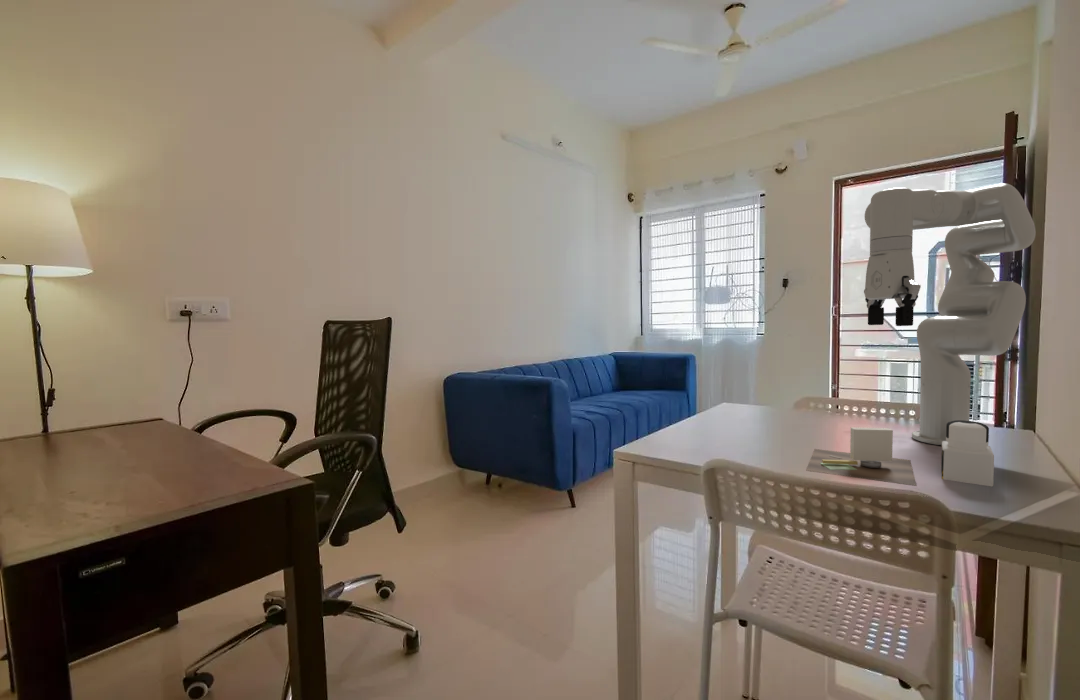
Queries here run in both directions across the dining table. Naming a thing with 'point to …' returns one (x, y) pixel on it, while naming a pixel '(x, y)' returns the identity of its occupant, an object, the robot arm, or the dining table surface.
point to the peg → (868, 447)
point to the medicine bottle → (967, 453)
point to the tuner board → (863, 468)
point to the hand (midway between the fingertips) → (889, 325)
